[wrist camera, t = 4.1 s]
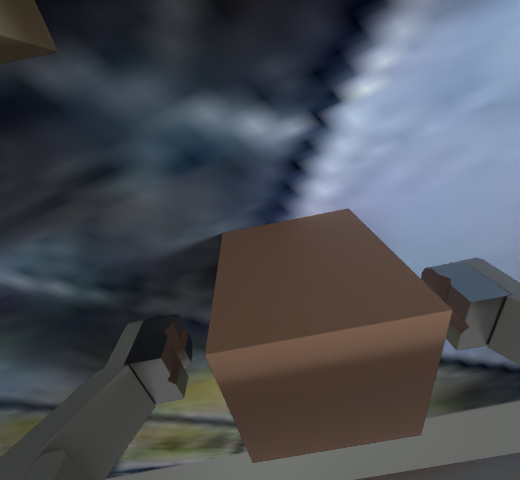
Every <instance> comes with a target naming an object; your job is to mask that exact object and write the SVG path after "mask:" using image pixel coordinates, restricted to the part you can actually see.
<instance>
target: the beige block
mask: <svg viewBox="0 0 520 480" xmlns="http://www.w3.org/2000/svg"><path fill="white" fill-rule="evenodd" d="M54 52H58V50H57V48H56V46H55V44H54V42H53V39H52V37H51V35H50V33H49V31H48V28H47V26H46V24H45V22H44V20H43V18H42V15H41V13H40V11H39V9H38V7H37V4H36V2H35V0H0V64H3V63H8V62H12V61H17V60H22V59H26V58H31V57H36V56H40V55H45V54H50V53H54Z"/></svg>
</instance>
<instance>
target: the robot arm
mask: <svg viewBox="0 0 520 480" xmlns="http://www.w3.org/2000/svg"><path fill="white" fill-rule="evenodd" d="M421 279H422V281H423V282H424V283H425V284H426V285H427V286H428V287H429V288H430V289H431V290H432V291H433V292H435V293H436V294H437V295H438V296H439V297H440V298H441V299H442V300H443V301H444V302H445V303H446V304H447V305H448V306H449V307H450V308H451V309H452V314H451V318H450V322H449V326H448V330H447V334H446V339H447V340H448V341H449V342H450V343H451V345H452V346H453V347H454V348H455V349H456V350H462V349H468V348H475V347H482V346H488V348H490V349H492V350H494V351H495V352H497V353H499V354H501V355H503V356H504V357H506V358H508V359H510V360H511V361H513V362H515V363H517V364H519V365H520V283H519V282H518V281H516V280H514V279H513V278H511V277H510V276H508V275H507V274H505V273H503V272H502V271H500V270H499V269H497V268H496V267H494V266H492V265H491V264H489V263H488V262H486V261H485V260H483V259H479V258H472V259H468V260H463V261H459V262H454V263H449V264H443V265H438V266H433V267H428V268H425V269H424V270H423V272H422V276H421ZM183 324H184V322H183V320H182V318H181V316H180V315H178V314H174V315H168V316H162V317H156V318H149V319H146V320H139V321H133V322H130V323H129V324H127V326H126V327H125V329H124V331H123V333H122V335H121V337H120V339H119V341H118V343H117V345H116V347H115V348H114V350H113V352H112V354H111V356H110V358H109V360H108V362H107V364H106V366H105V368H104V370H99V371H97V372H96V373H95V374H94V375H93V376H92V377H90V378H89V379H88V380H87V381H86V382H85V383H84V384H83V385H82V386H80V387H79V388H78V389H77V390H76V391H75V392H74V393H73V394H71V395H70V396H69V397H68V398H67V399H66V400H65V401H64V402H62V403H61V404H60V405H59V406H58V407H57V408H56V409H55V410H53V411H52V412H51V413H50V414H49V415H48V416H47V417H46V418H44V419H43V420H42V421H41V422H40V423H39V424H38V425H37V426H35V427H34V428H33V429H32V430H31V431H30V432H29V433H28V434H26V435H25V436H24V437H23V438H22V439H21V440H20V441H19V442H17V443H16V444H15V445H14V446H13V447H12V448H11V449H10V450H8V451H7V452H6V453H5V454H4V455H3V456H2V457H1V458H0V480H105V479H106V477H107V476H108V474H109V473H110V471H111V470H112V468H113V467H114V466H115V464H116V463H117V461H118V460H119V458H120V457H121V455H122V454H123V453H124V451H125V450H126V448H127V447H128V445H129V444H130V442H131V441H132V440H133V438H134V437H135V435H136V434H137V432H138V431H139V429H140V428H141V427H142V425H143V424H144V422H145V421H146V419H147V418H148V416H149V415H150V414H151V412H152V411H153V409H154V408H155V404H160V403H164V402H169V401H174V400H179V399H184V396H185V391H186V386H187V380H188V375H187V373H186V371H185V369H186V368H187V367H188V366H189V364H190V363H191V359H192V342H191V337H190V335H189V333H188V332H187V331H185V330H183V329H182V328H183ZM357 480H520V453H514V454H508V455H502V456H496V457H491V458H484V459H478V460H472V461H466V462H460V463H454V464H448V465H442V466H436V467H430V468H424V469H418V470H412V471H406V472H400V473H394V474H388V475H381V476H376V477H370V478H363V479H357Z"/></svg>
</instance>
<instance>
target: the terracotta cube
mask: <svg viewBox="0 0 520 480" xmlns="http://www.w3.org/2000/svg"><path fill="white" fill-rule="evenodd" d="M451 314H452V309H451V308H450V307H449V306H448V305H447V304H446V303H445V302H444V301H443V300H442V299H441V298H440V297H439V296H438V295H437V294H436V293H435V292H433V291H432V290H431V289H430V288H429V287H428V286H427V285H426V284H425V283H424V282H423V281H422V280H421V279H420V278H419V277H418V276H417V275H416V274H415V273H414V272H413V271H412V270H411V269H410V268H409V267H408V266H407V265H406V264H405V263H404V262H403V261H402V260H401V259H400V258H399V257H398V256H397V255H396V254H395V253H393V252H392V251H391V250H390V249H389V248H388V247H387V246H386V245H385V244H384V243H383V242H382V241H381V240H380V239H379V238H378V237H377V236H376V235H375V234H374V233H373V232H372V231H371V230H370V229H369V228H368V227H367V226H366V225H365V224H364V223H363V222H362V221H361V220H360V219H359V218H358V217H357V216H356V215H355V214H353V213H352V212H351V211H350V210H349V209H344V210H339V211H334V212H328V213H323V214H318V215H313V216H308V217H303V218H298V219H293V220H287V221H282V222H277V223H272V224H267V225H262V226H257V227H252V228H246V229H241V230H236V231H231V232H226V233H223V234H222V241H221V248H220V255H219V261H218V268H217V275H216V282H215V289H214V296H213V303H212V310H211V317H210V324H209V330H208V337H207V344H206V351H205V356H206V358H207V361H208V363H209V365H210V367H211V370H212V372H213V374H214V376H215V379H216V381H217V383H218V385H219V388H220V390H221V392H222V394H223V397H224V399H225V401H226V403H227V406H228V408H229V410H230V413H231V415H232V417H233V419H234V422H235V424H236V426H237V428H238V431H239V433H240V435H241V437H242V440H243V442H244V444H245V446H246V449H247V451H248V453H249V455H250V457H251V460H252V462H253V463H255V462H262V461H268V460H274V459H280V458H286V457H292V456H298V455H304V454H309V453H315V452H322V451H327V450H334V449H339V448H346V447H352V446H357V445H363V444H369V443H376V442H381V441H387V440H394V439H400V438H405V437H411V436H418V435H421V433H422V429H423V425H424V421H425V417H426V413H427V409H428V405H429V401H430V397H431V393H432V390H433V386H434V382H435V378H436V374H437V370H438V366H439V362H440V358H441V354H442V350H443V346H444V342H445V338H446V334H447V330H448V326H449V322H450V318H451Z"/></svg>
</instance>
